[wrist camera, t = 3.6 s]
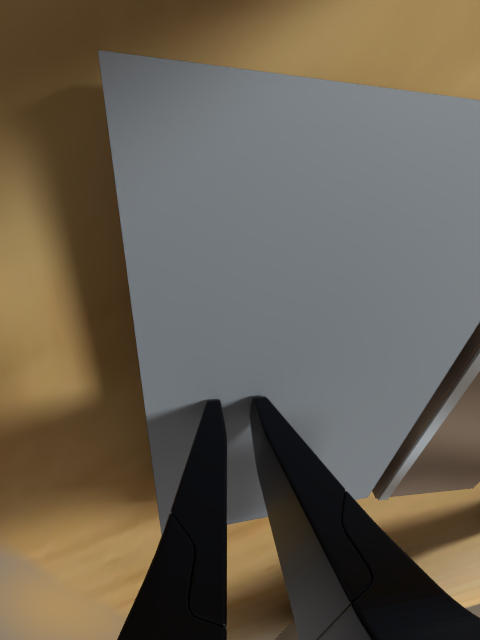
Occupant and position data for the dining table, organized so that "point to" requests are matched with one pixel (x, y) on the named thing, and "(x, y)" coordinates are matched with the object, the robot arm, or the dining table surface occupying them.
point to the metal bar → (442, 435)
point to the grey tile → (291, 258)
